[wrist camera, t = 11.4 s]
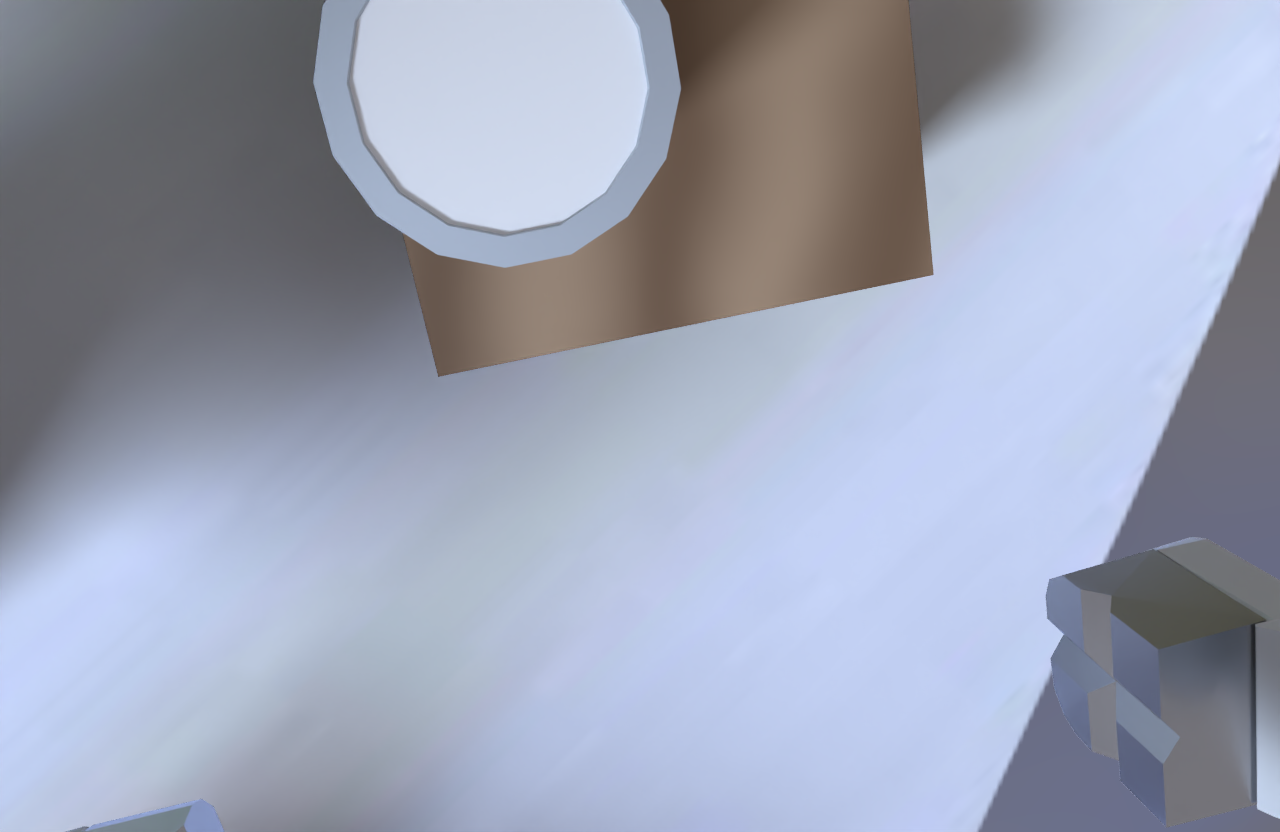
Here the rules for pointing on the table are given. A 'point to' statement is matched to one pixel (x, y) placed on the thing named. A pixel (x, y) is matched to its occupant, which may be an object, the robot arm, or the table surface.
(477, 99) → the white cup
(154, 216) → the table surface
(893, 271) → the wooden stool
